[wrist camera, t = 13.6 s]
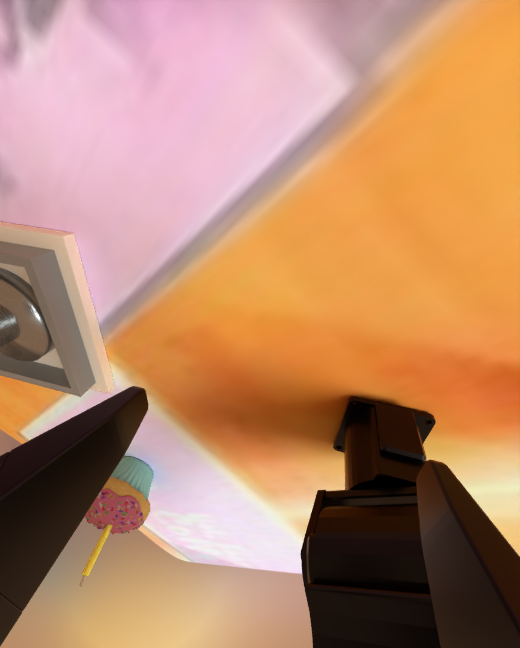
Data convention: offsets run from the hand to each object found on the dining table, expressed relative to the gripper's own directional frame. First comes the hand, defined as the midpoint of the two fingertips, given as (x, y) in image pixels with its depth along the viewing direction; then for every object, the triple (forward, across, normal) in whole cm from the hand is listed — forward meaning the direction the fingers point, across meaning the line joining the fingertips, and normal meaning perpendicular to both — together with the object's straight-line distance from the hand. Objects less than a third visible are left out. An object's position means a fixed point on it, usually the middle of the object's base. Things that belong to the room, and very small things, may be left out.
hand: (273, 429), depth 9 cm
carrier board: (+12, +26, +7) cm, 29 cm away
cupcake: (+12, +18, +30) cm, 37 cm away
